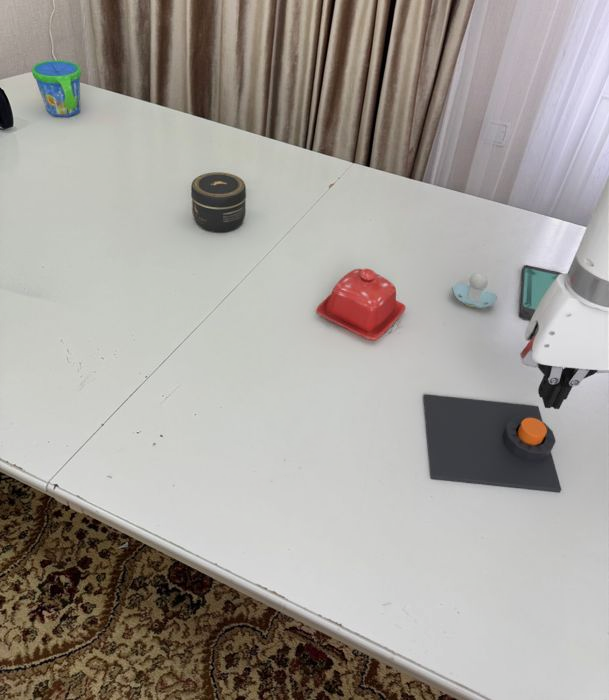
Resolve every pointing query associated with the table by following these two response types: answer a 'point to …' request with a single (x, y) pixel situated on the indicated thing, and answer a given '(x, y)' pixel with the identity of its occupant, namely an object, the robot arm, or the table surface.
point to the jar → (218, 201)
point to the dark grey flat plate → (486, 444)
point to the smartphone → (534, 288)
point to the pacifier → (475, 292)
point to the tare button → (532, 431)
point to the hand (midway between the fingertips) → (549, 399)
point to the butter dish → (363, 304)
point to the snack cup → (59, 86)
